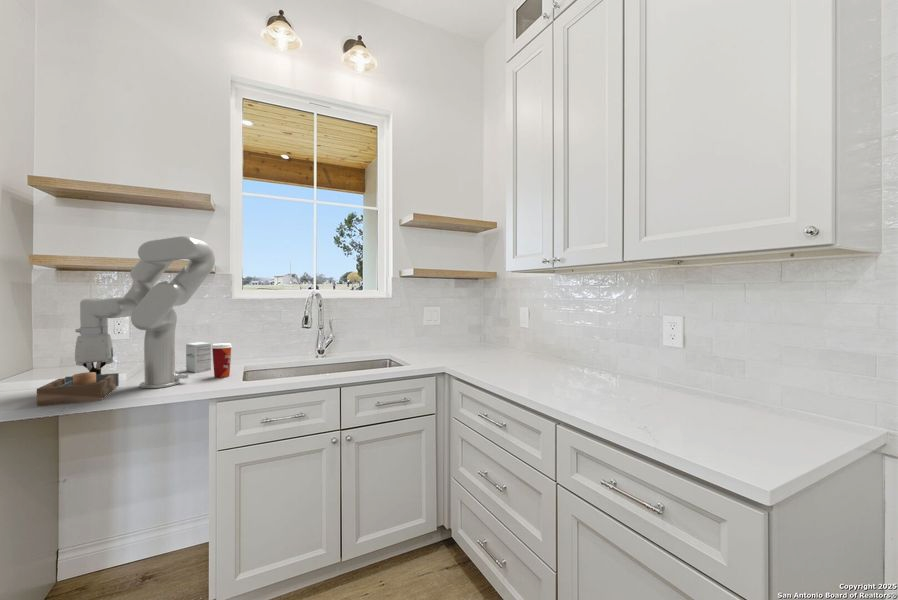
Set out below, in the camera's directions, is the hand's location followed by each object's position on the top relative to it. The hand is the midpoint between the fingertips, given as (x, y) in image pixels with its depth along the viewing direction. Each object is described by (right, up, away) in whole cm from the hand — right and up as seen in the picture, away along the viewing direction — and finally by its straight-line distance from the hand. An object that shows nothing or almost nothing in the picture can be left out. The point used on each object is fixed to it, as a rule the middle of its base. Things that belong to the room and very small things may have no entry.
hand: (95, 379), depth 146 cm
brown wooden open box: (+6, -3, -13) cm, 15 cm away
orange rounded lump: (+4, -2, -8) cm, 10 cm away
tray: (+4, -3, -9) cm, 10 cm away
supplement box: (+19, -3, +32) cm, 37 cm away
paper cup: (+36, -3, +20) cm, 41 cm away
